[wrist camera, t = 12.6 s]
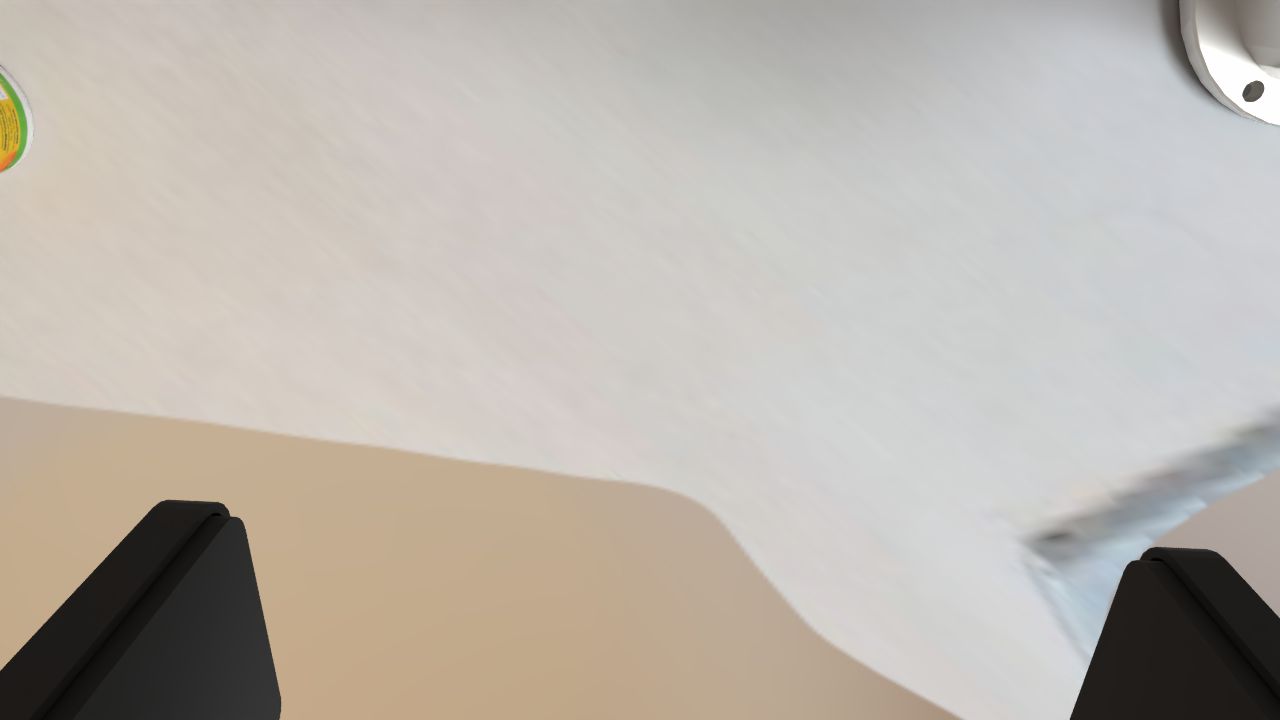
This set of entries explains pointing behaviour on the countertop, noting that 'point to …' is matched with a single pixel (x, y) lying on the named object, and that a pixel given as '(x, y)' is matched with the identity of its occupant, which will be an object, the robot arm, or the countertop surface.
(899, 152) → the countertop surface
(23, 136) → the supplement bottle
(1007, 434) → the countertop surface
